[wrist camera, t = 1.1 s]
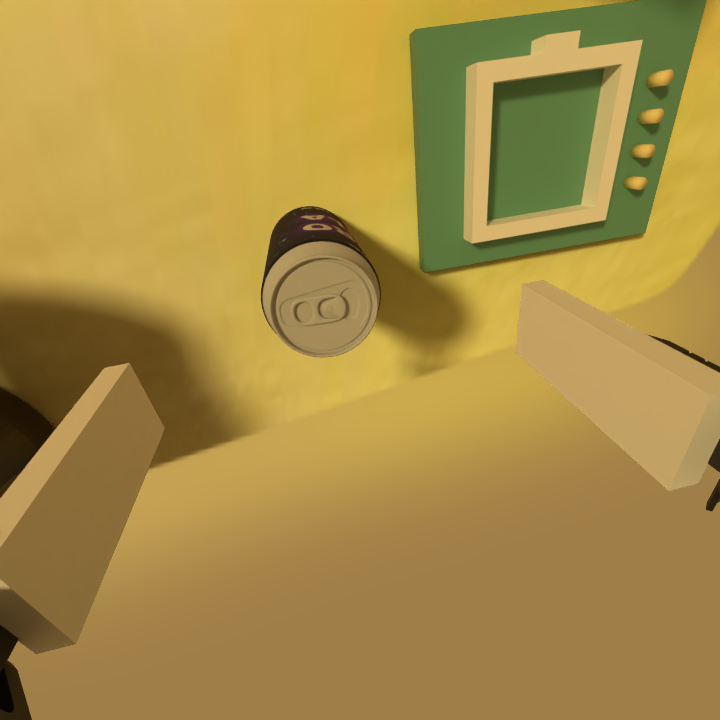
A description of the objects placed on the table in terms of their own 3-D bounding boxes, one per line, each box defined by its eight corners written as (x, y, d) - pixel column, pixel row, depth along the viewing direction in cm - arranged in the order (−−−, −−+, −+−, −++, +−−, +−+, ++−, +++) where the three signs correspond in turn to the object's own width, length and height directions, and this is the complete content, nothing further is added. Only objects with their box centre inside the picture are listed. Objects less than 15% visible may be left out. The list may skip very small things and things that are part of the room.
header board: (419, 268, 29) (431, 278, 27) (409, 34, 22) (424, 21, 19) (633, 229, 30) (661, 236, 28) (690, -2, 23) (734, -18, 21)
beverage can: (353, 279, 29) (389, 354, 18) (279, 289, 28) (274, 373, 18) (345, 199, 26) (383, 236, 15) (262, 209, 25) (244, 255, 15)
